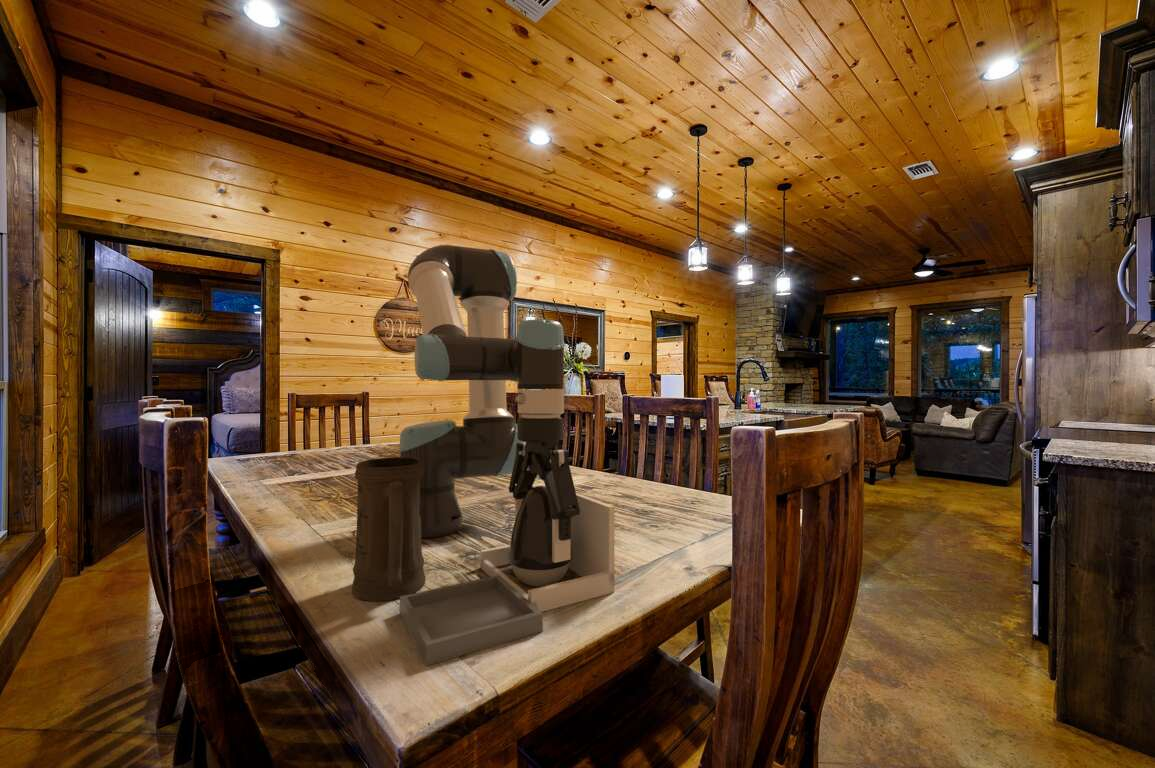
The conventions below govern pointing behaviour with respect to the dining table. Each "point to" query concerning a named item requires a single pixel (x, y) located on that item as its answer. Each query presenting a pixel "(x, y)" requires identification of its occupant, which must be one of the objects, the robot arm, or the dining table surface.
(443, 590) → the tray
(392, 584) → the beer stein
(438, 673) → the dining table surface
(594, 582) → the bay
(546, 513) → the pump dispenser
